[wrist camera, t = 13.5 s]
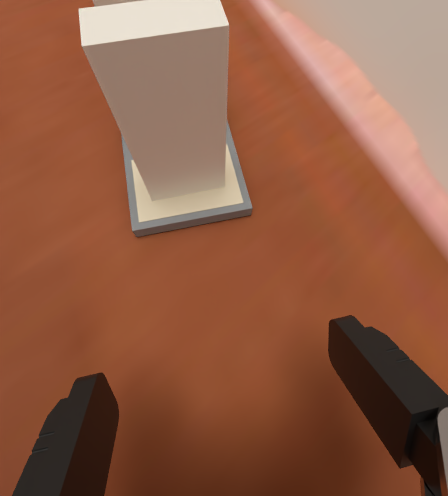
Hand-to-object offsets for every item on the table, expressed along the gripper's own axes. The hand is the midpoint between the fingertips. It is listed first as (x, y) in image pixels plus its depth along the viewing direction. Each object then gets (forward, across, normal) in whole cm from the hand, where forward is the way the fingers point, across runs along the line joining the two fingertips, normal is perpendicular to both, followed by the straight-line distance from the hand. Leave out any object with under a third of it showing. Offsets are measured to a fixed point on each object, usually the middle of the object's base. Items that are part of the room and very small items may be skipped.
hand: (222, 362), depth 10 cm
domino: (+12, 0, -4) cm, 13 cm away
